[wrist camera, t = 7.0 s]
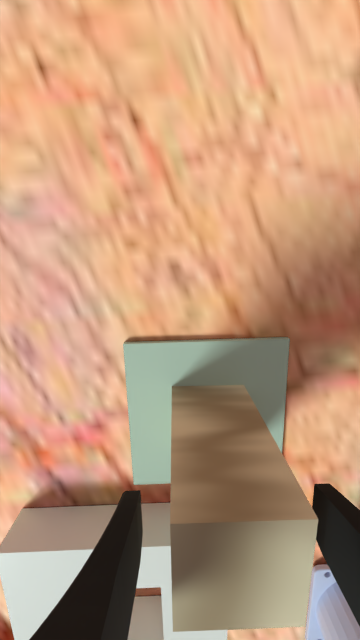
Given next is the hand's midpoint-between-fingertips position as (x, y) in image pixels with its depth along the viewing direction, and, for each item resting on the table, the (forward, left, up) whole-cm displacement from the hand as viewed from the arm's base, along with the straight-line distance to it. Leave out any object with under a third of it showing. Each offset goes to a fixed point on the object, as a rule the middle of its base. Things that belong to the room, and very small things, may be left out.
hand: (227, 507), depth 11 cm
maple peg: (0, 0, -7) cm, 6 cm away
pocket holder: (+6, +13, -7) cm, 16 cm away
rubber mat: (0, 0, -7) cm, 7 cm away
